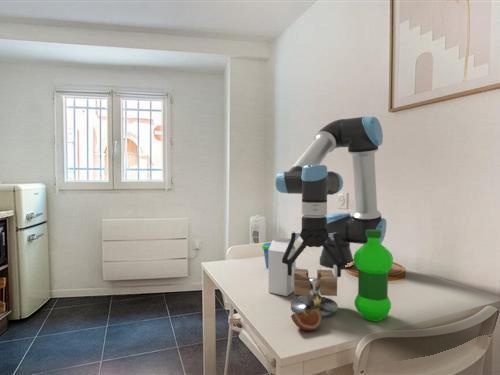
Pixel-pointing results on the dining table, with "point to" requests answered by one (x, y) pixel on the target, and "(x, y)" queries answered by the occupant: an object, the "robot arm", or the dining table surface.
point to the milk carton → (279, 267)
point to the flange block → (326, 278)
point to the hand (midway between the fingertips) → (313, 286)
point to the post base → (304, 306)
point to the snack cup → (266, 252)
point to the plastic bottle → (373, 277)
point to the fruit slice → (307, 319)
